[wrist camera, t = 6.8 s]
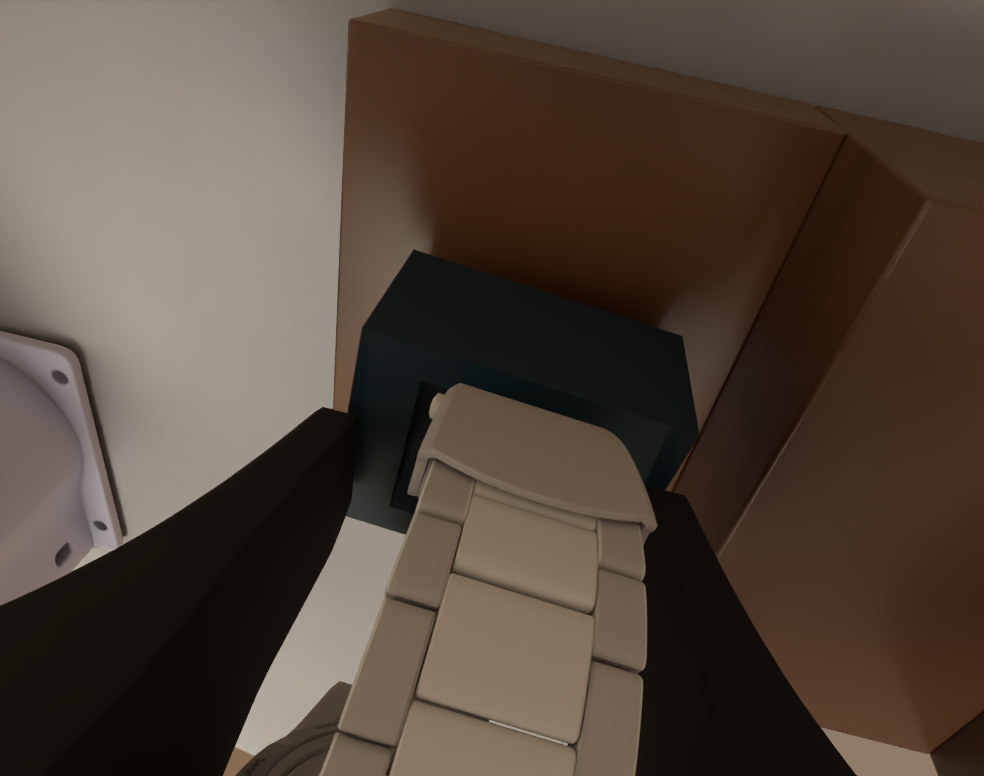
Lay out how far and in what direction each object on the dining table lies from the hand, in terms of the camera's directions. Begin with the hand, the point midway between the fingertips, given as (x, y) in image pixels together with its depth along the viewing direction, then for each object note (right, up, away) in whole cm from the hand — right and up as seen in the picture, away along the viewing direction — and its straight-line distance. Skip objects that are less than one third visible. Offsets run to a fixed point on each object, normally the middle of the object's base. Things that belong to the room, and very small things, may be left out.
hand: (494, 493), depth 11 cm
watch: (+1, +2, +3) cm, 4 cm away
